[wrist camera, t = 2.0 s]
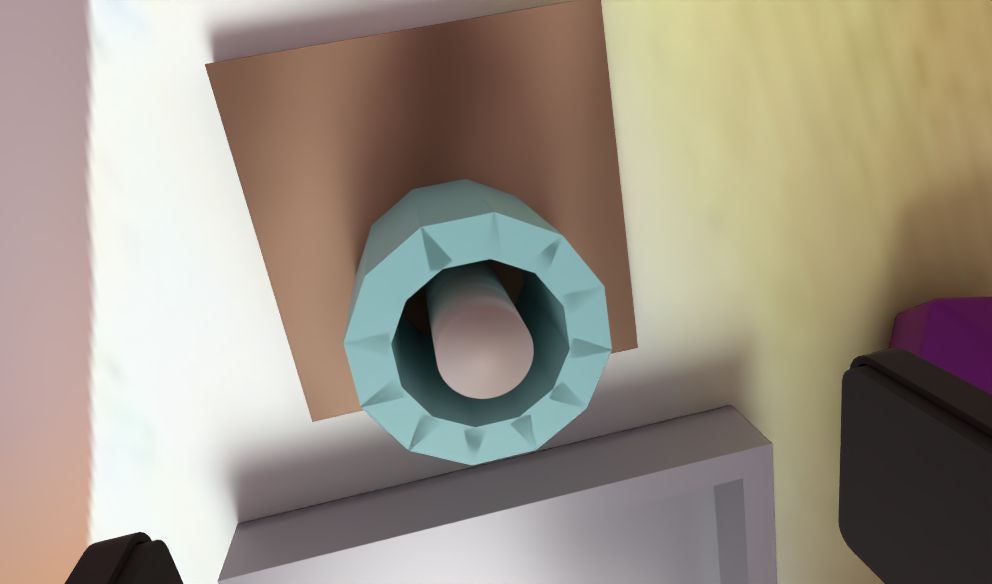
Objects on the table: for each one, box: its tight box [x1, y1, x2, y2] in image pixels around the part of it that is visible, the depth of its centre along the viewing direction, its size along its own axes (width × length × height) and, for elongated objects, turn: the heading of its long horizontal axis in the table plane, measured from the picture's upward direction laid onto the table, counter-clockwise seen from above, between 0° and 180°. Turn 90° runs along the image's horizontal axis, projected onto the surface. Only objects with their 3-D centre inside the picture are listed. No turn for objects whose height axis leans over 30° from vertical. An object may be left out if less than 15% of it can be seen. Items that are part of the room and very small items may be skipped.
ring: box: [343, 179, 612, 466], centre depth 19 cm, size 7×8×6 cm
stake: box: [205, 0, 638, 422], centre depth 18 cm, size 12×12×8 cm
